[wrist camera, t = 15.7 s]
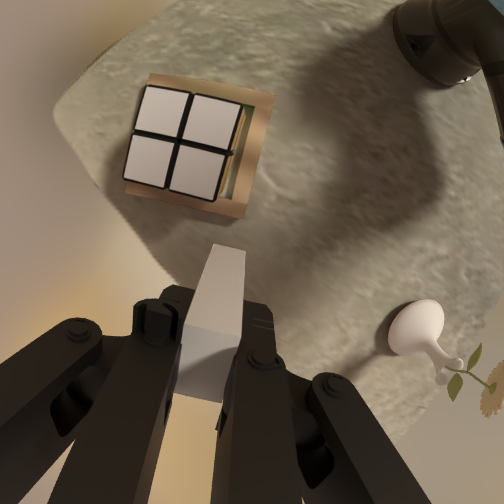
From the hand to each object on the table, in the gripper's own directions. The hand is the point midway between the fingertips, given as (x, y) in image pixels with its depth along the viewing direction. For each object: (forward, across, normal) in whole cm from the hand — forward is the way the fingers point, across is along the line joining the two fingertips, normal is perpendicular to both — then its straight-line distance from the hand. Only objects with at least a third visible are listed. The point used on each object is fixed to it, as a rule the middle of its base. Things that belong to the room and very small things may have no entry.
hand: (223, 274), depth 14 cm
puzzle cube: (+26, -7, +5) cm, 27 cm away
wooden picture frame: (+26, -7, +5) cm, 28 cm away
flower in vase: (+27, +34, -13) cm, 45 cm away
